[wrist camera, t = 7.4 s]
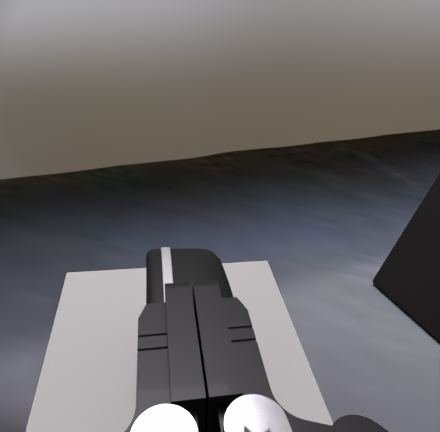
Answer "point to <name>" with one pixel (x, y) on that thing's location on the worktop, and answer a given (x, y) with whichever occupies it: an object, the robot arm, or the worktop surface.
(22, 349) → the worktop surface
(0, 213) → the worktop surface
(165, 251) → the battery charger
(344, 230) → the worktop surface
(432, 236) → the phone stand
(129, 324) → the mat
